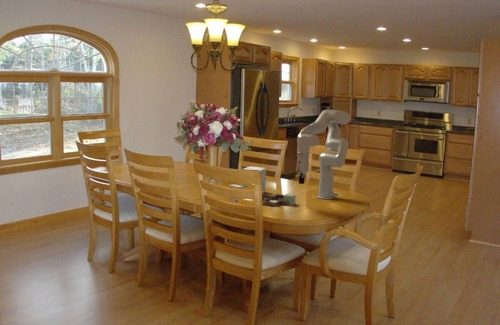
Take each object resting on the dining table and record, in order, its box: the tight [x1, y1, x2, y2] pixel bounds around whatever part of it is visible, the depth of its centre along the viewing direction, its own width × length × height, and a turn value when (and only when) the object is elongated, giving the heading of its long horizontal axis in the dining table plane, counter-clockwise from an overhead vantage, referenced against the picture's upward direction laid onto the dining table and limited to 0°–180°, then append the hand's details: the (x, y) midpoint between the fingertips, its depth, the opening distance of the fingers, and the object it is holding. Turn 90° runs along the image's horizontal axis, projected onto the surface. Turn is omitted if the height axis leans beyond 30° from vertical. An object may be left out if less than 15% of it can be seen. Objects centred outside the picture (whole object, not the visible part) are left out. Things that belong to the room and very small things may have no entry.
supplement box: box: [241, 165, 267, 193], centre depth 349 cm, size 13×13×18 cm
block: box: [282, 193, 297, 207], centre depth 319 cm, size 6×6×6 cm
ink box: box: [228, 184, 243, 202], centre depth 315 cm, size 8×5×12 cm, turn 47°
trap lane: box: [261, 191, 289, 208], centre depth 324 cm, size 23×24×5 cm
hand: (301, 183), depth 313 cm, fingers closed
